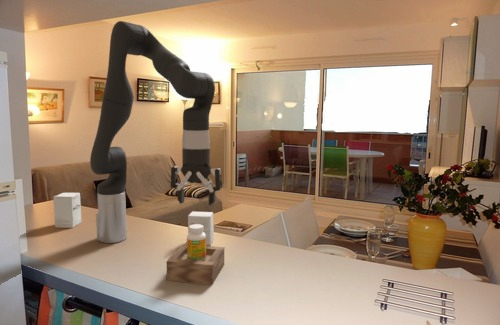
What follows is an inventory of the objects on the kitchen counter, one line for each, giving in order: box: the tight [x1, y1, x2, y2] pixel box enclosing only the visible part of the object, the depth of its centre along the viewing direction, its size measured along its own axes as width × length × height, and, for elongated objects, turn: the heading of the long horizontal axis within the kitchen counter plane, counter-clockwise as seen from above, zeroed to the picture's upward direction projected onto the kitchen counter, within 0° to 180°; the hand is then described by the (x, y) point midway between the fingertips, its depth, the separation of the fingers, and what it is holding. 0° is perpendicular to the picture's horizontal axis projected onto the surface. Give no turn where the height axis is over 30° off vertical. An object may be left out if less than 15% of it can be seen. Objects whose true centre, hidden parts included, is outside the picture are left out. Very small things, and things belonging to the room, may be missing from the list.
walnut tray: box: [166, 243, 225, 285], centre depth 104 cm, size 13×13×6 cm
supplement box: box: [52, 192, 82, 229], centre depth 145 cm, size 7×7×13 cm
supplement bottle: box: [186, 224, 207, 261], centre depth 104 cm, size 5×5×10 cm
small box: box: [187, 211, 215, 246], centre depth 128 cm, size 8×6×10 cm
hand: (196, 203), depth 102 cm, fingers open, 8 cm apart
